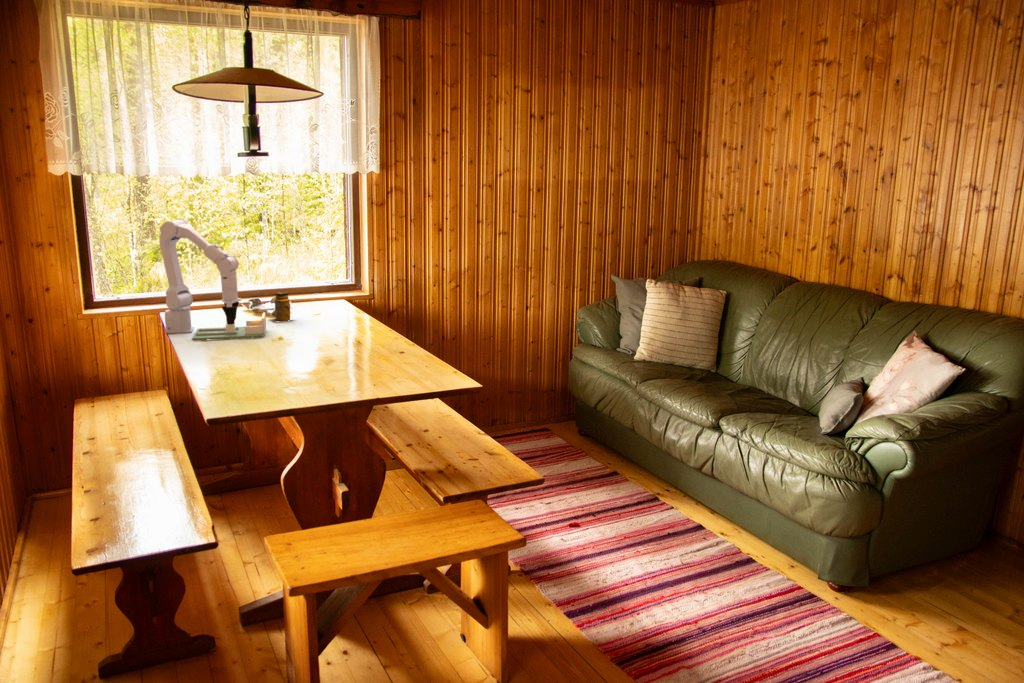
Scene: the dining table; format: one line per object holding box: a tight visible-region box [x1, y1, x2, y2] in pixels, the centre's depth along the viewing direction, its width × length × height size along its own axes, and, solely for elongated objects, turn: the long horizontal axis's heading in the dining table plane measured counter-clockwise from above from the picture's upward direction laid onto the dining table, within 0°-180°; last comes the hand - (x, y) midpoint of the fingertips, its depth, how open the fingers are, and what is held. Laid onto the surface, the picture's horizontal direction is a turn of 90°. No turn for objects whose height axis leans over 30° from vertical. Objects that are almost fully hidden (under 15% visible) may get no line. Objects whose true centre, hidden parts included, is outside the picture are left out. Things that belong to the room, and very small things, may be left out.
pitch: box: [191, 326, 265, 341], centre depth 321 cm, size 26×18×2 cm
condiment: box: [268, 291, 291, 323], centre depth 348 cm, size 7×8×12 cm
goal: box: [244, 312, 267, 335], centre depth 323 cm, size 8×12×6 cm, turn 15°
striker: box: [225, 317, 236, 332], centre depth 321 cm, size 3×6×7 cm, turn 15°
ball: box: [250, 321, 261, 326], centre depth 323 cm, size 4×4×4 cm
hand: (231, 322), depth 321 cm, fingers open, 7 cm apart
